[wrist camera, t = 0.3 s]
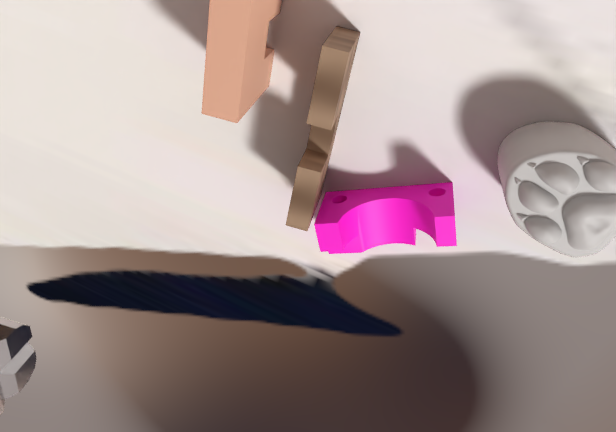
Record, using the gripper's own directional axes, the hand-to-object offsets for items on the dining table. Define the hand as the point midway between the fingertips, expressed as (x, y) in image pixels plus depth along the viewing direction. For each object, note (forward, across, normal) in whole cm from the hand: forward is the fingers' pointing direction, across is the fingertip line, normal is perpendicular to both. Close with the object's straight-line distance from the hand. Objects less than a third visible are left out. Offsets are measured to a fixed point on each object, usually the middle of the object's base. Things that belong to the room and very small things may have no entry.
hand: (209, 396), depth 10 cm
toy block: (+47, -7, +23) cm, 52 cm away
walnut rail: (+46, +3, +13) cm, 48 cm away
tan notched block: (+46, +12, +5) cm, 48 cm away
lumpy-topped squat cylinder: (+47, -22, +12) cm, 53 cm away
